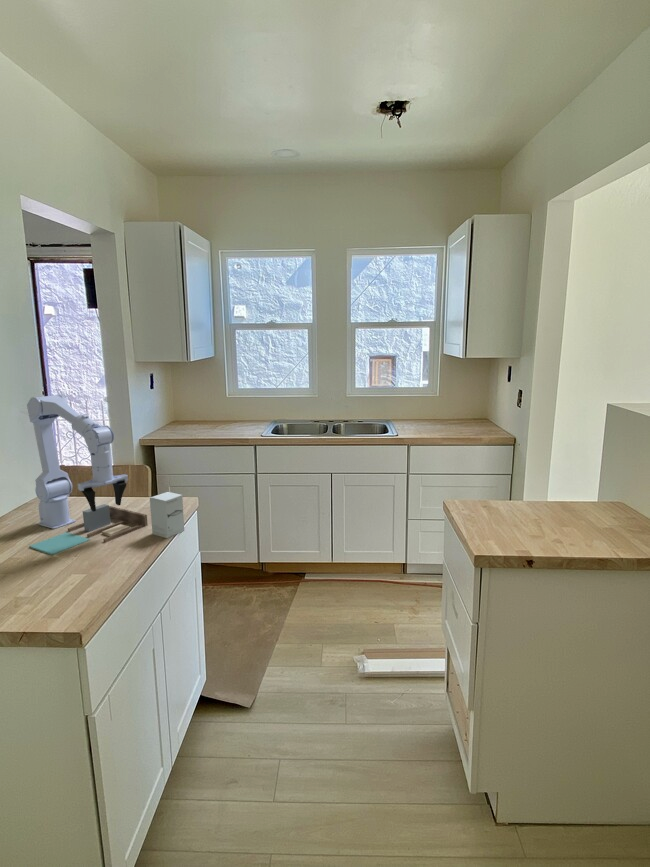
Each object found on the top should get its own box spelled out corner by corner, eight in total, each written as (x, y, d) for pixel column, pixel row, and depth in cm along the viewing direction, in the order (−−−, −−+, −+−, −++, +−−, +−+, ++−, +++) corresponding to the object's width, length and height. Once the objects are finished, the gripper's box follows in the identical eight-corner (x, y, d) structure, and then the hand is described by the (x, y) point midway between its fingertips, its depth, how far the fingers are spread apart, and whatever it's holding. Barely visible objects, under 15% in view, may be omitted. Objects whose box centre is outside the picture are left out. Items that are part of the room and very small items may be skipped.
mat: (29, 547, 145) (29, 545, 145) (67, 533, 156) (66, 532, 156) (53, 555, 140) (52, 553, 140) (90, 540, 150) (90, 539, 150)
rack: (68, 532, 157) (66, 520, 156) (110, 516, 171) (109, 505, 170) (105, 543, 148) (104, 531, 147) (147, 526, 162) (146, 514, 161)
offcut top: (102, 534, 154) (101, 531, 154) (120, 527, 160) (120, 524, 160) (111, 536, 152) (110, 533, 152) (129, 529, 158) (129, 526, 158)
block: (84, 531, 158) (82, 511, 156) (106, 523, 164) (104, 504, 163) (89, 532, 156) (87, 512, 155) (110, 524, 163) (108, 505, 162)
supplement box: (167, 539, 150) (164, 500, 148) (151, 534, 154) (148, 497, 152) (185, 531, 157) (182, 494, 154) (170, 527, 160) (167, 490, 158)
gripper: (82, 472, 140) (86, 516, 143) (130, 463, 151) (134, 504, 153) (73, 468, 145) (78, 511, 148) (121, 459, 156) (124, 499, 158)
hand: (106, 507), depth 151 cm, fingers open, 7 cm apart
